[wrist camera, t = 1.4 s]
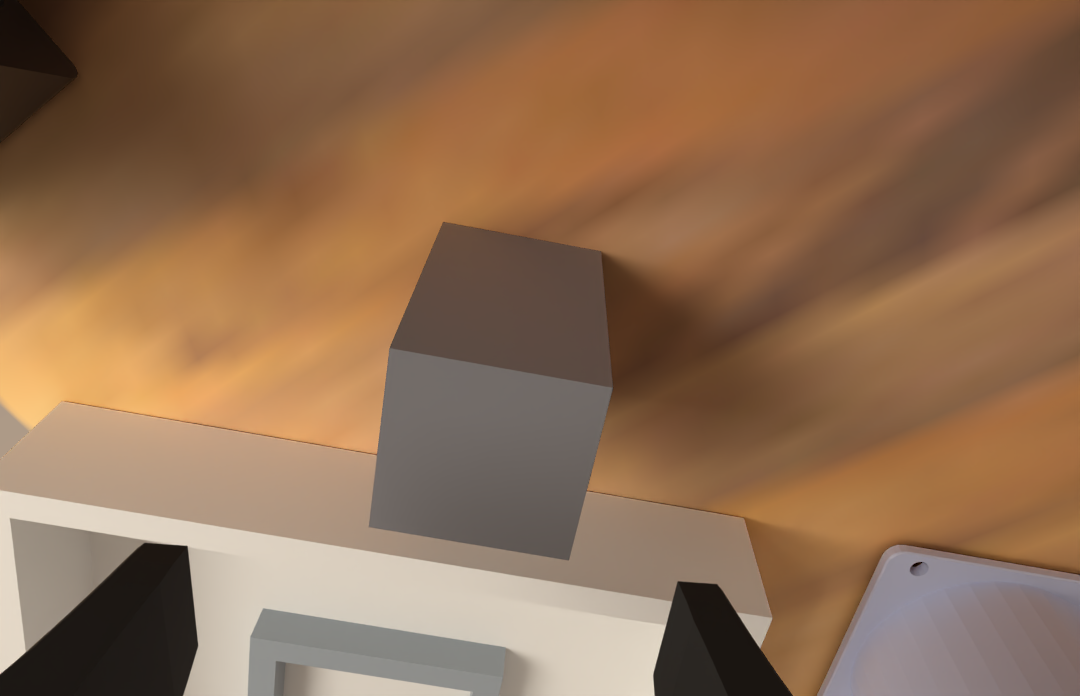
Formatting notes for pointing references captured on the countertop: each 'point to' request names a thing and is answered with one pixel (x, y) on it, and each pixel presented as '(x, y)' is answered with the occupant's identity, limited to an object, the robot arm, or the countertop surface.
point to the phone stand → (27, 67)
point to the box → (344, 568)
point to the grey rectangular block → (495, 394)
